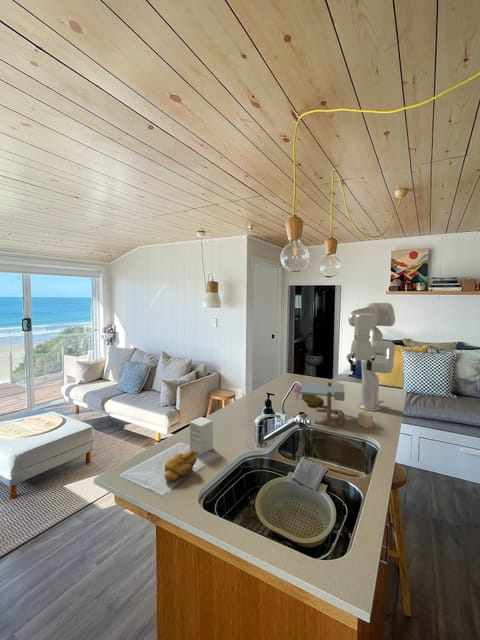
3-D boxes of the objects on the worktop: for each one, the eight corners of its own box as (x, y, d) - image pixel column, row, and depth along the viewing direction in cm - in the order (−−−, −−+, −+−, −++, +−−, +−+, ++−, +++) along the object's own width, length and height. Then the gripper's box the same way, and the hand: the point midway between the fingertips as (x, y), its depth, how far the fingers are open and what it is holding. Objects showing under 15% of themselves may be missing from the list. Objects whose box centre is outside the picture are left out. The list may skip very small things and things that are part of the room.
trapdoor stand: (341, 411, 178) (342, 383, 177) (342, 426, 157) (343, 394, 156) (316, 409, 182) (317, 381, 181) (314, 423, 161) (315, 391, 160)
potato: (319, 409, 182) (319, 396, 181) (299, 404, 190) (299, 392, 190) (325, 405, 188) (325, 393, 188) (306, 401, 196) (306, 389, 196)
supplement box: (201, 443, 139) (201, 416, 138) (213, 448, 134) (213, 420, 133) (189, 449, 133) (188, 421, 132) (201, 455, 128) (200, 426, 127)
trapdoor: (343, 391, 174) (343, 384, 174) (344, 400, 159) (344, 392, 159) (302, 388, 181) (303, 381, 180) (300, 396, 165) (300, 388, 165)
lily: (287, 398, 204) (289, 388, 199) (294, 388, 213) (296, 378, 208) (304, 407, 200) (306, 396, 194) (310, 395, 208) (313, 385, 203)
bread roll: (173, 487, 107) (173, 465, 106) (155, 478, 112) (155, 457, 112) (199, 471, 117) (199, 450, 116) (181, 463, 123) (181, 443, 122)
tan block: (365, 422, 163) (365, 411, 163) (372, 426, 159) (373, 414, 158) (358, 424, 161) (358, 412, 161) (365, 427, 157) (365, 416, 156)
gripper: (371, 336, 163) (370, 368, 165) (343, 337, 159) (342, 370, 160) (381, 338, 156) (380, 371, 158) (352, 339, 151) (351, 373, 153)
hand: (361, 370), depth 159 cm, fingers open, 9 cm apart
